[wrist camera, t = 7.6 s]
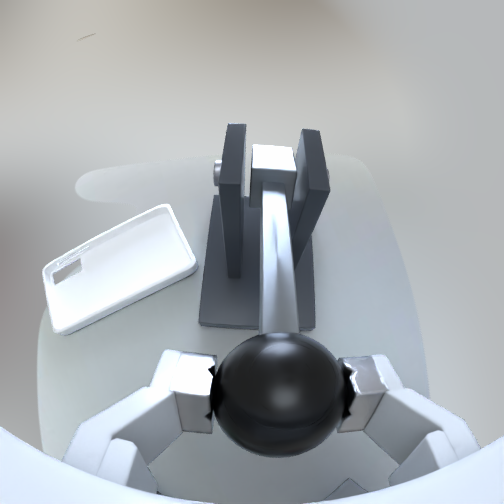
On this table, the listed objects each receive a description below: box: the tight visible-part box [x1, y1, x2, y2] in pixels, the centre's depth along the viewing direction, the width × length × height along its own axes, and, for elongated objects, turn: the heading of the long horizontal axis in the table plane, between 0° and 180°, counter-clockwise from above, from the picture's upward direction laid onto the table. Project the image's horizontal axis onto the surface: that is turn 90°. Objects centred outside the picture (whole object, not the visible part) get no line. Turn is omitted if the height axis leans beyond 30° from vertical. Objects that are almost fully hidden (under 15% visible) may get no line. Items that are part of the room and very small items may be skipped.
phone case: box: [42, 204, 198, 335], centre depth 22 cm, size 7×1×15 cm
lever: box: [212, 145, 347, 458], centre depth 10 cm, size 14×4×4 cm, turn 178°
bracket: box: [199, 123, 330, 331], centre depth 18 cm, size 12×9×13 cm
